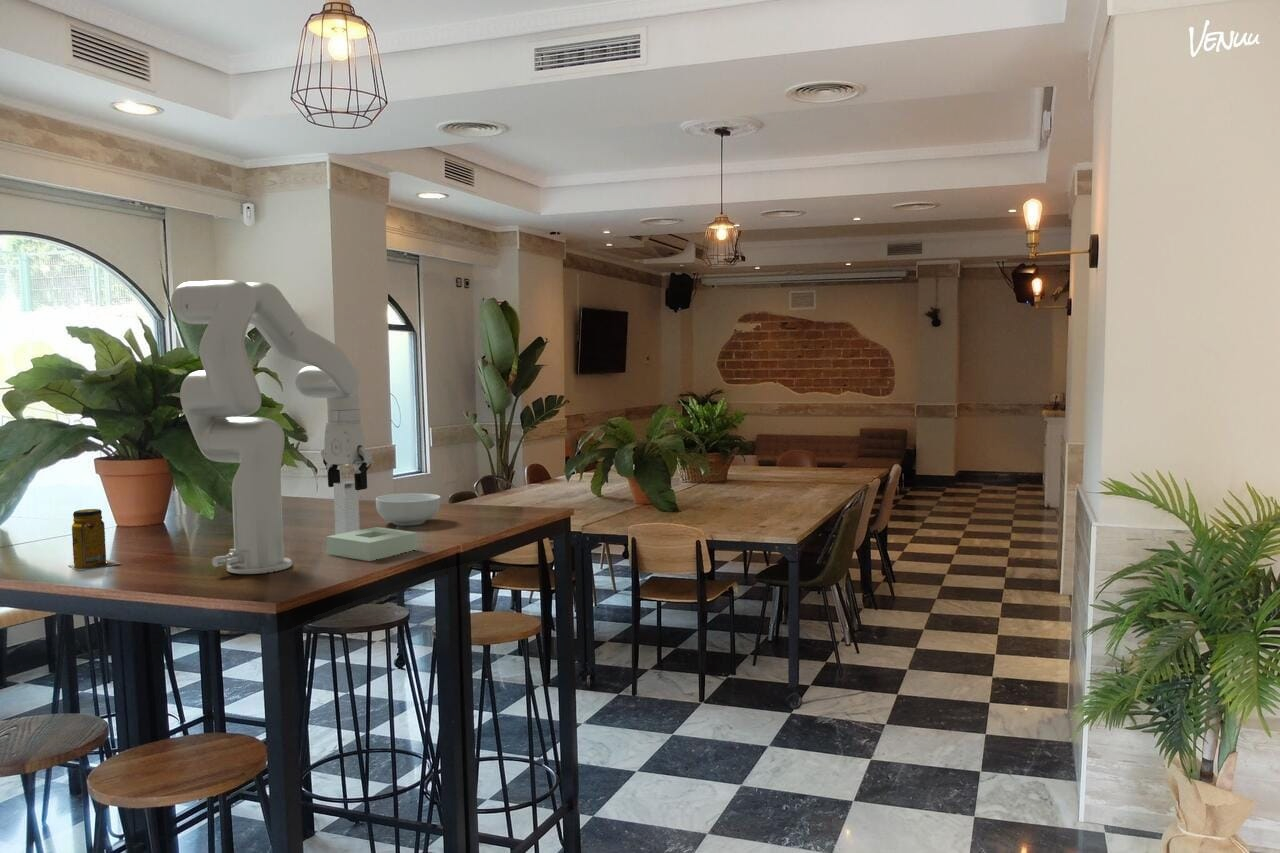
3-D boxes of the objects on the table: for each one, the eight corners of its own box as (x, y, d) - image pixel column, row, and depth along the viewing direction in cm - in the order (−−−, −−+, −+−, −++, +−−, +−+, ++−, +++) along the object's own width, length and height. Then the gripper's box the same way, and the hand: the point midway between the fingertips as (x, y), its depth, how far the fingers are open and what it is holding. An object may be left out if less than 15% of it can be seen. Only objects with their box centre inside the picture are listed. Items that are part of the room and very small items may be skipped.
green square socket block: (369, 561, 207) (368, 542, 206) (327, 554, 214) (326, 536, 214) (417, 550, 218) (417, 532, 218) (376, 543, 226) (375, 526, 226)
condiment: (68, 566, 205) (65, 510, 204) (112, 560, 210) (109, 505, 209) (77, 571, 199) (74, 514, 198) (121, 565, 205) (119, 509, 204)
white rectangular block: (346, 542, 227) (344, 484, 226) (335, 541, 230) (333, 483, 229) (359, 540, 231) (358, 482, 230) (348, 538, 233) (347, 481, 232)
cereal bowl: (425, 529, 244) (424, 502, 244) (364, 528, 248) (364, 500, 247) (451, 518, 261) (450, 492, 260) (394, 517, 264) (393, 491, 264)
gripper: (307, 416, 230) (311, 487, 232) (355, 419, 220) (359, 493, 222) (333, 414, 236) (336, 483, 238) (381, 416, 227) (384, 488, 228)
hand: (347, 487), depth 230 cm, fingers open, 9 cm apart
